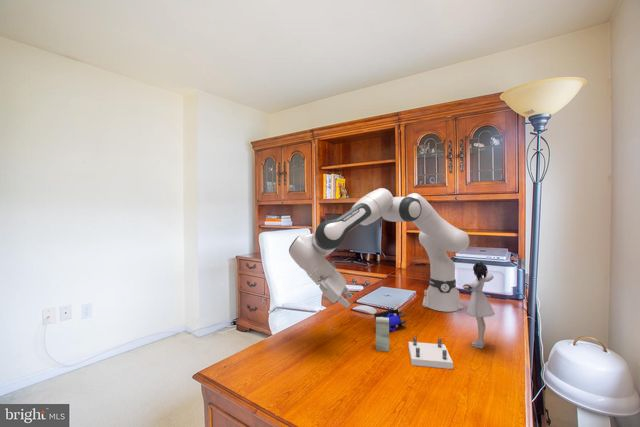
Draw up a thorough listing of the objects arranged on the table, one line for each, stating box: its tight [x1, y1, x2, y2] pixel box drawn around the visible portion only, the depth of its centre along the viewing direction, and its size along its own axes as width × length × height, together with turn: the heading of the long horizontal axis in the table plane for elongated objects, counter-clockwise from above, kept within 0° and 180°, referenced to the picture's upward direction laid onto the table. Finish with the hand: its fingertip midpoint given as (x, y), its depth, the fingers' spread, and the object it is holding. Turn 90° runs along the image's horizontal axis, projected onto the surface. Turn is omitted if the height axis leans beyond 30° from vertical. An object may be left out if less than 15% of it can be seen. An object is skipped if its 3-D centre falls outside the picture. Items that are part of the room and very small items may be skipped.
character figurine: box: [373, 309, 408, 332], centre depth 120 cm, size 8×7×15 cm
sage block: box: [375, 317, 390, 352], centre depth 105 cm, size 4×4×10 cm
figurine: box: [461, 261, 496, 349], centre depth 104 cm, size 25×8×30 cm, turn 135°
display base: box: [408, 336, 454, 370], centre depth 98 cm, size 12×12×4 cm
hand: (350, 301), depth 107 cm, fingers open, 8 cm apart
